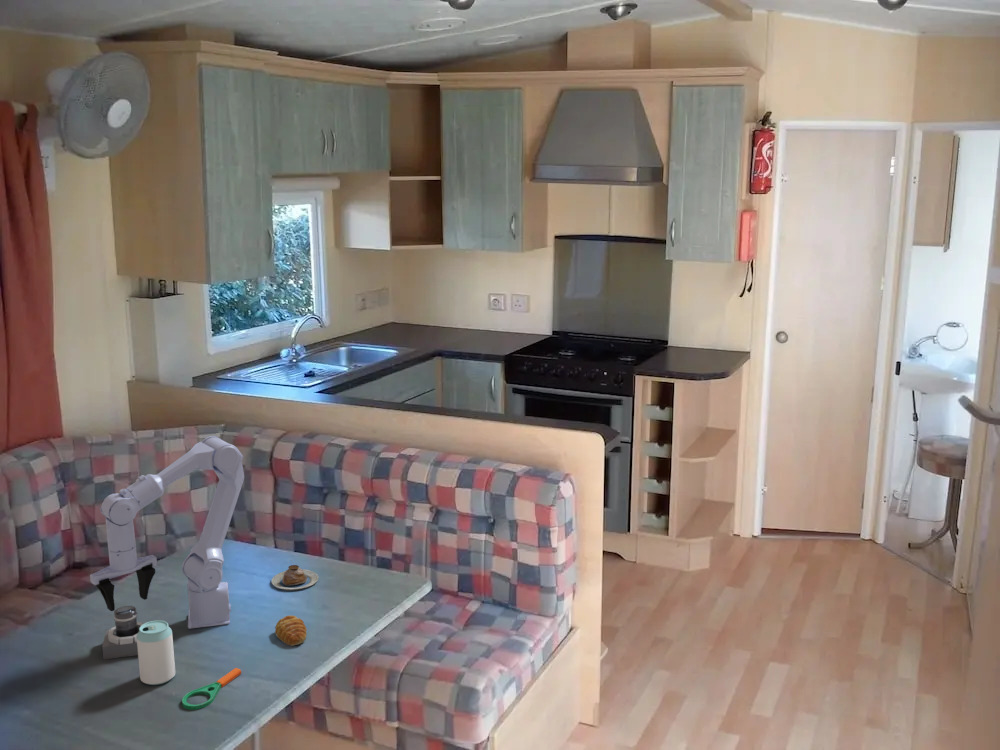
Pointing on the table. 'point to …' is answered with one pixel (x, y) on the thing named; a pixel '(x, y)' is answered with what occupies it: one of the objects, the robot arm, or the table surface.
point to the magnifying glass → (205, 690)
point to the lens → (126, 621)
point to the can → (155, 652)
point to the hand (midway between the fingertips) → (127, 603)
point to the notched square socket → (119, 644)
